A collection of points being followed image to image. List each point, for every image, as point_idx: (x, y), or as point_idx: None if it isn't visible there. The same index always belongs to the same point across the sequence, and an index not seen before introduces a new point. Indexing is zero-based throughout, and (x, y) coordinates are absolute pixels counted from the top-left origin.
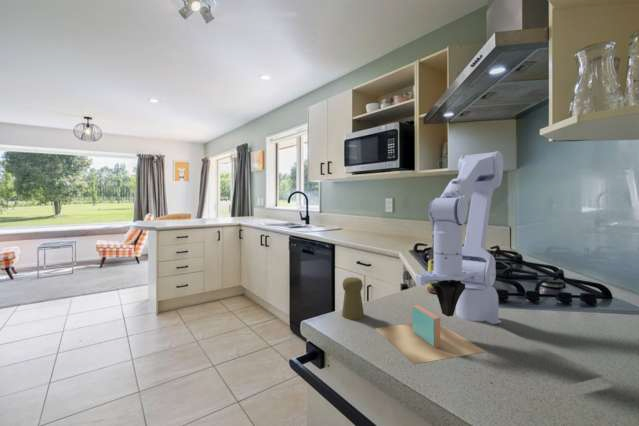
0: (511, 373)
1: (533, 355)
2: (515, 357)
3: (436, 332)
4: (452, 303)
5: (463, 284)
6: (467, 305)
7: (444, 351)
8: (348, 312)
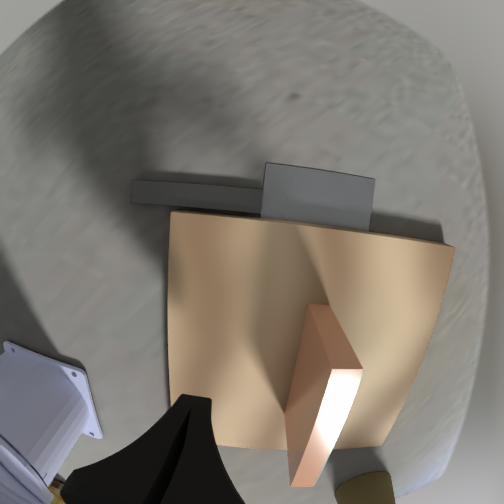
0: (187, 109)
1: (46, 172)
2: (93, 178)
3: (337, 332)
4: (177, 437)
5: (73, 498)
6: (52, 421)
7: (319, 273)
8: (392, 495)
